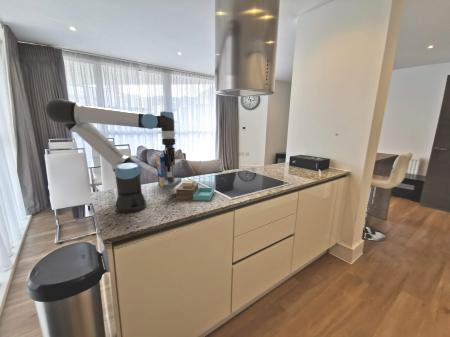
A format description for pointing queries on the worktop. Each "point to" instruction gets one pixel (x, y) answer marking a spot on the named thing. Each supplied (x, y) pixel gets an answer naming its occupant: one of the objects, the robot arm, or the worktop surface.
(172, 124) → the robot arm
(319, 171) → the worktop surface
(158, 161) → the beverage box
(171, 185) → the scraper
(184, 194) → the brown wooden box
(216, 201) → the worktop surface
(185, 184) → the tile
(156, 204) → the worktop surface
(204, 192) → the tray
